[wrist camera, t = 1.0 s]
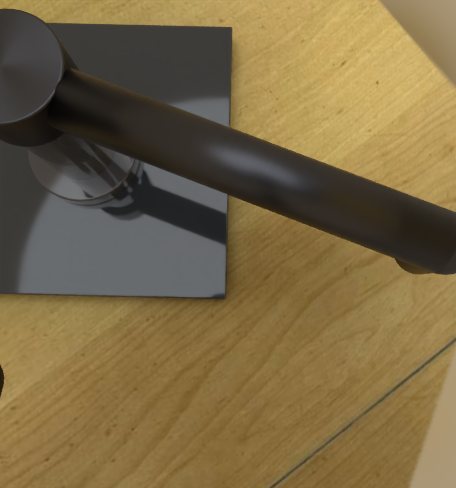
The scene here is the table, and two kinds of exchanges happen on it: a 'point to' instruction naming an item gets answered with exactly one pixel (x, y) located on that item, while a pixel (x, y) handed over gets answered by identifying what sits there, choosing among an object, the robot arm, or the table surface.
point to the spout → (208, 152)
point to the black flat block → (121, 180)
